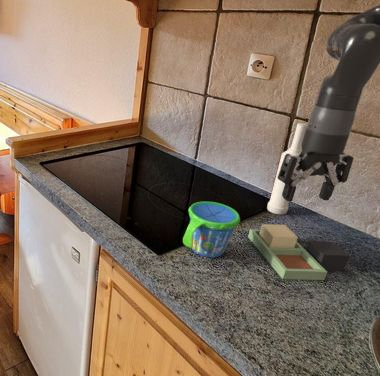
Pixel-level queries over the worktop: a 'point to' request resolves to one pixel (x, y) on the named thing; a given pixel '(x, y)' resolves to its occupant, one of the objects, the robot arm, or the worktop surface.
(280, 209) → the bottle
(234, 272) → the worktop surface
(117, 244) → the worktop surface
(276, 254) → the frame
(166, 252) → the worktop surface
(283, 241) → the foam pad
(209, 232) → the snack cup
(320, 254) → the dark gray block
